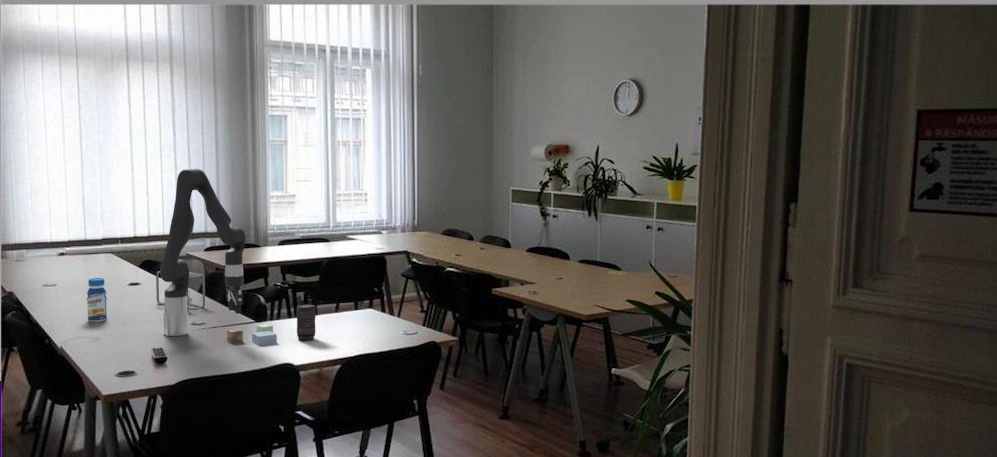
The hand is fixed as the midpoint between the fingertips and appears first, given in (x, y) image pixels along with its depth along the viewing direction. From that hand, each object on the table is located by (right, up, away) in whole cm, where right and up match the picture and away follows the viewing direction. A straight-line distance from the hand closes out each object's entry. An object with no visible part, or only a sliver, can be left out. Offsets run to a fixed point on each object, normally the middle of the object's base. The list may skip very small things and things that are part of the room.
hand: (234, 311), depth 341 cm
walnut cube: (0, -13, +1) cm, 13 cm away
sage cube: (+10, -12, +11) cm, 19 cm away
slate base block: (+12, -14, +1) cm, 18 cm away
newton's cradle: (-54, -5, +76) cm, 93 cm away
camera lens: (+29, -13, +7) cm, 33 cm away
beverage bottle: (-78, -8, +37) cm, 87 cm away
